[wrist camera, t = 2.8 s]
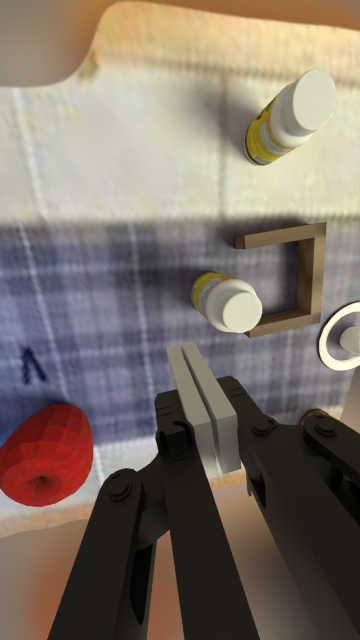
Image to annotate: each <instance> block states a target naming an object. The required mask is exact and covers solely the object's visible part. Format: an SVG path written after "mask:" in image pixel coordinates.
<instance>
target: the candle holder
mask: <svg viewBox="0 0 360 640" xmlns="http://www.w3.org/2000/svg"><path fill="white" fill-rule="evenodd" d="M355 311H359V312H360V302H358V303H353V304H351V305H348V306H346V307H344V308H343V309H341V310H340V311H339V312H337V313H336V314H335V315H334V316H333V317H332V318H331V319H330V321H329V322H328V323H327V325H326V326H325V327H324V329H323V332H322V335H321V337H320V340H319V352H320V356H321V359H322V361H323V362H324V363H325V365H327V366H328V367H329V368H331V369H334V370H348V369H351V368H354V367H356V366H358V365H360V327H358V326H352V327H349V328H347V329H346V330H345V331H344V332H343V333H342V335H341V338H340V345H341V347H342V348H344V349H345V350H347V351H349V352H351V353H353V354H355V355H357V356H355V357H354V358H351V359H349V360H345V361H338V360H335V359H333V358H331V357H330V356H329V354H328V352H327V349H326V339H327V336H328V333H329V331H330V329H331V328H332V326H333V325H334V324H335V323H336V321H337V320H339V319H340V318H341V317H342V316H344V315H346V314H348V313H350V312H355Z"/></svg>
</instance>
